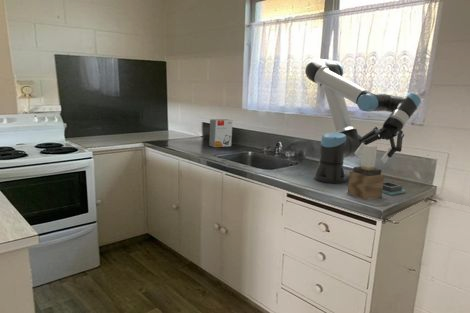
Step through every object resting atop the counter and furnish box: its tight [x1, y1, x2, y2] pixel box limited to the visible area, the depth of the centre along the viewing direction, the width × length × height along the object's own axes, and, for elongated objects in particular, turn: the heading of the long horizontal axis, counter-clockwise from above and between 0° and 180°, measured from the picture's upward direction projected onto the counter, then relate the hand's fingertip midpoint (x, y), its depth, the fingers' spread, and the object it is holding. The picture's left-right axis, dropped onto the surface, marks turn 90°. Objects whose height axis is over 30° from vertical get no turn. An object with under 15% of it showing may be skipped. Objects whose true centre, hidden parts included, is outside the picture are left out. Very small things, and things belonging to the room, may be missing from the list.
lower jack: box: [382, 180, 406, 196], centre depth 157 cm, size 10×10×3 cm
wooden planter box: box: [347, 165, 385, 201], centre depth 149 cm, size 10×10×12 cm
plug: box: [360, 144, 378, 170], centre depth 147 cm, size 4×4×12 cm
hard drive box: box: [208, 118, 234, 148], centre depth 255 cm, size 16×8×20 cm, turn 125°
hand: (368, 158), depth 146 cm, fingers open, 13 cm apart
